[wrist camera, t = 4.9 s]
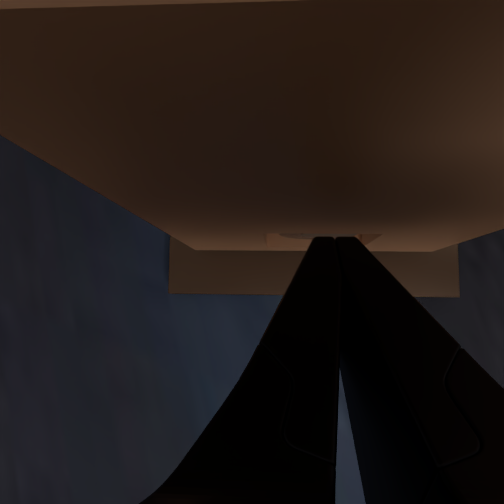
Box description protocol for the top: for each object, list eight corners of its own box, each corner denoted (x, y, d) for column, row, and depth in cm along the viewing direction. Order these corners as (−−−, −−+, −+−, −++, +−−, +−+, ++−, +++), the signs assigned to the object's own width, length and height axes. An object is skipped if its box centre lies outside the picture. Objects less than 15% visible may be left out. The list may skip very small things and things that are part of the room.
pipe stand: (452, 297, 16) (573, 294, 9) (172, 293, 17) (101, 289, 10) (440, -93, 18) (535, -328, 11) (184, -83, 18) (130, -299, 12)
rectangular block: (431, 251, 15) (1306, -27, 2) (195, 249, 16) (-203, 15, 3) (427, 108, 16) (1114, -788, 3) (199, 111, 16) (-121, -634, 3)
